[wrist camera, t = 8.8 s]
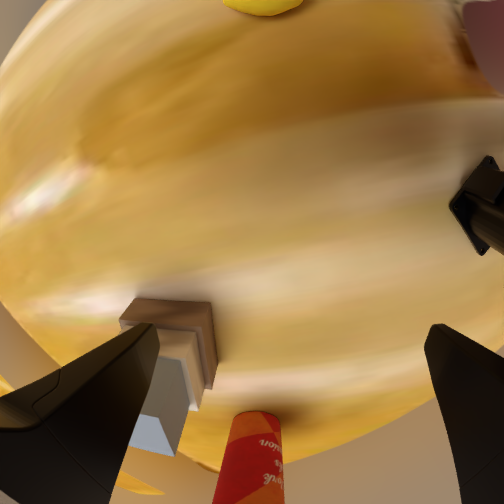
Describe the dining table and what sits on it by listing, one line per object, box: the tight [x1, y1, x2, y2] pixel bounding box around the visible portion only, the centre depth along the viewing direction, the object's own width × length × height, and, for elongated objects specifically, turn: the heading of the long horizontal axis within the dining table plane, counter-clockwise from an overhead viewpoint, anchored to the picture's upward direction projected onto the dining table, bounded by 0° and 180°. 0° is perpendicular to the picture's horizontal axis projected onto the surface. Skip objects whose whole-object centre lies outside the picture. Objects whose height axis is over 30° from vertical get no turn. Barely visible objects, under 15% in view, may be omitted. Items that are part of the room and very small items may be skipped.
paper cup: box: [212, 411, 284, 504], centre depth 23 cm, size 8×8×14 cm
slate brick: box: [129, 357, 190, 456], centre depth 17 cm, size 5×5×5 cm
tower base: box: [118, 298, 218, 411], centre depth 22 cm, size 7×7×6 cm
